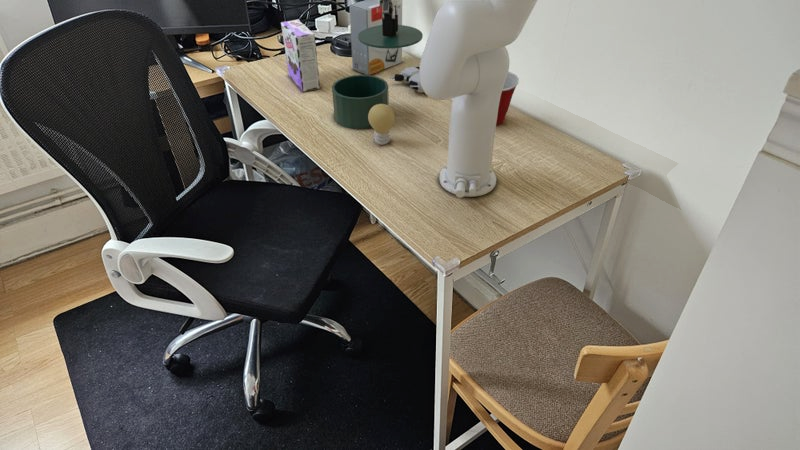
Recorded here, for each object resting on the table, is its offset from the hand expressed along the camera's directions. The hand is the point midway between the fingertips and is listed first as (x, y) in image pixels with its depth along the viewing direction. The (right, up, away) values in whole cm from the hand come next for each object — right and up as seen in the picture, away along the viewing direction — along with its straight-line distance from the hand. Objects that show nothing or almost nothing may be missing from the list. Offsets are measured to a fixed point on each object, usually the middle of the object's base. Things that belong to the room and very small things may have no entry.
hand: (390, 32), depth 124 cm
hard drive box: (-5, +5, +42) cm, 43 cm away
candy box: (-27, -3, +33) cm, 43 cm away
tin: (-8, -17, +16) cm, 24 cm away
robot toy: (+8, -5, +30) cm, 32 cm away
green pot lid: (0, -1, +1) cm, 1 cm away
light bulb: (-2, -26, +5) cm, 26 cm away
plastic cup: (+27, -19, +13) cm, 35 cm away
